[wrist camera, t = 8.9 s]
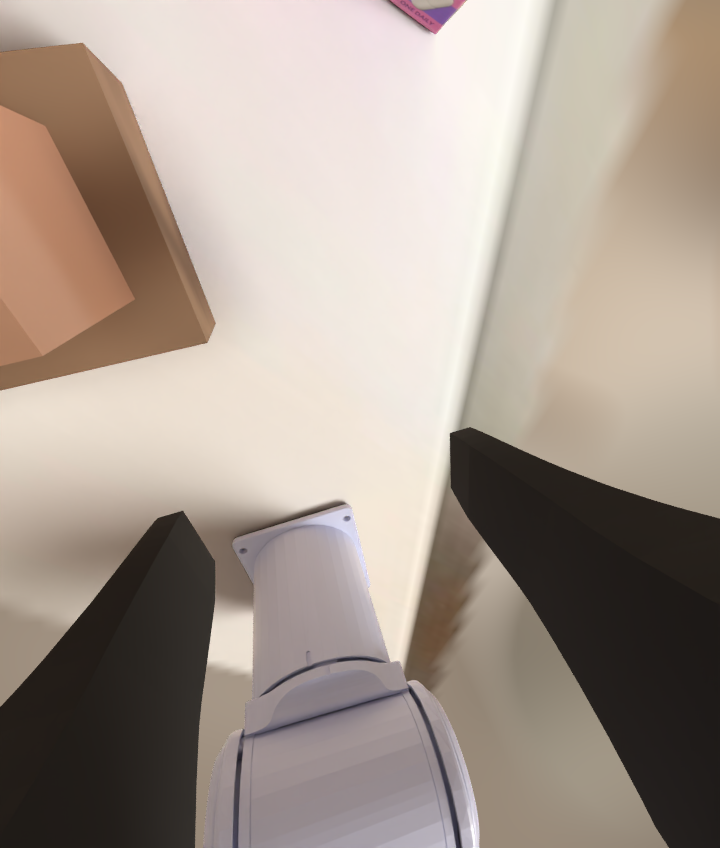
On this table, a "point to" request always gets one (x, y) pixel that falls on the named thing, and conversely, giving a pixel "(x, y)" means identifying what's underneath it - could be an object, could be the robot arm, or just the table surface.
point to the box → (430, 11)
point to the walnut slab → (108, 211)
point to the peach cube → (47, 248)
